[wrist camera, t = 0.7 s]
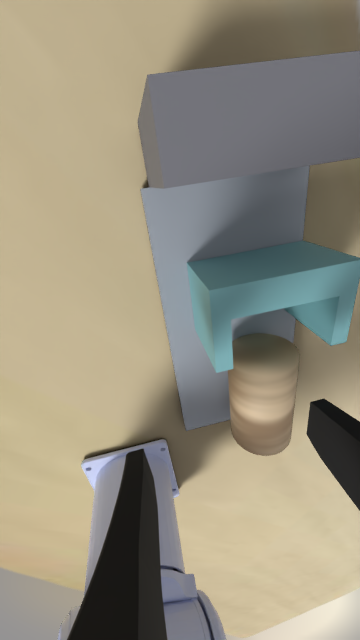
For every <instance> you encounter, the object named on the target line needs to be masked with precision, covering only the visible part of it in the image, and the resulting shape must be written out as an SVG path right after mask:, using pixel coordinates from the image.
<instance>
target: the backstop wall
mask: <svg viewBox="0 0 360 640" xmlns="http://www.w3.org/2000/svg"><path fill="white" fill-rule="evenodd" d="M138 127H139V133H140V139H141V144H142V150H143V156H144V162H145V168H146V173H147V179H148V185H149V187H150V188H162V189H166V188H172V187H178V186H184V185H191V184H197V183H203V182H209V181H216V180H222V179H228V178H235V177H241V176H247V175H253V174H260V173H266V172H272V171H278V170H285V169H291V168H297V167H303V166H310V165H316V164H322V163H329V162H335V161H341V160H347V159H354V158H360V51H352V52H343V53H335V54H326V55H317V56H308V57H299V58H291V59H282V60H273V61H264V62H255V63H246V64H238V65H229V66H220V67H211V68H202V69H194V70H185V71H176V72H167V73H158V74H150V75H147V79H146V84H145V89H144V94H143V99H142V103H141V108H140V113H139V118H138Z"/></svg>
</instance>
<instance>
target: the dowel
mask: <svg viewBox="0 0 360 640" xmlns="http://www.w3.org/2000/svg"><path fill="white" fill-rule="evenodd" d="M232 350H233V369H231V370H228V383H229V400H230V417H231V431H232V435H233V437H234V439H235V440H236V442H237V443H238V444H239V445H240V446H241V447H242V448H244V449H245V450H247V451H249V452H251V453H253V454H257V455H262V456H269V455H275V454H278V453H280V452H282V451H283V450H284V449H285V448H286V447H287V446H288V444H289V442H290V439H291V432H292V423H293V414H294V405H295V396H296V387H297V378H298V369H299V360H300V354H299V351H298V349H297V347H296V346H295V345H294V344H293V343H291V342H290V341H288V340H287V339H285V338H282V337H280V336H277V335H272V334H265V333H255V334H248V335H244V336H241V337H239V338H237V339H235V340H234V341H232Z"/></svg>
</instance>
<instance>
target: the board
mask: <svg viewBox="0 0 360 640" xmlns="http://www.w3.org/2000/svg"><path fill="white" fill-rule="evenodd" d="M309 167H310V166H303V167H297V168H291V169H285V170H278V171H272V172H266V173H260V174H253V175H247V176H241V177H235V178H228V179H222V180H216V181H209V182H203V183H197V184H191V185H184V186H178V187H172V188H166V189H162V188H150V187H149V188H142V189H140V190H141V195H142V201H143V206H144V211H145V217H146V222H147V227H148V233H149V238H150V243H151V249H152V254H153V259H154V265H155V270H156V275H157V281H158V286H159V291H160V296H161V302H162V307H163V312H164V318H165V323H166V328H167V334H168V339H169V344H170V350H171V355H172V360H173V366H174V371H175V376H176V382H177V387H178V392H179V397H180V403H181V408H182V413H183V419H184V424H185V428H186V431H188V430H192V429H196V428H200V427H203V426H207V425H211V424H215V423H219V422H223V421H227V420H231V417H230V400H229V383H228V370H227V371H222V372H218V373H216V371H215V369H214V367H213V365H212V363H211V361H210V359H209V357H208V355H207V353H206V351H205V349H204V347H203V345H202V343H201V341H200V338H199V336H198V334H197V332H196V330H195V325H194V317H193V309H192V301H191V293H190V285H189V277H188V269H187V263H188V262H193V261H198V260H203V259H209V258H214V257H219V256H224V255H230V254H235V253H240V252H245V251H251V250H256V249H261V248H266V247H272V246H277V245H282V244H287V243H293V242H298V241H303V232H304V222H305V211H306V200H307V189H308V178H309ZM295 319H296V318H294V317H293V316H292V315H291V314H289V313H288V312H287V311H285V308H282V309H278V310H273V311H269V312H264V313H259V314H255V315H250V316H246V317H241V318H236V319H232V320H231V328H232V341H234V340H235V339H237V338H239V337H241V336H244V335H248V334H255V333H265V334H272V335H277V336H280V337H282V338H285V339H287V340H288V341H290V342H291V343H293V341H294V330H295Z"/></svg>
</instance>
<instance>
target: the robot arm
mask: <svg viewBox="0 0 360 640" xmlns="http://www.w3.org/2000/svg"><path fill="white" fill-rule="evenodd" d="M307 436H308V437H309V439H310V441H311V443H312V444H313V446H314V448H315V449H316V451H317V453H318V454H319V456H320V458H321V459H322V460H323V462H324V463H325V465H326V466H327V467H328V469H329V470H330V471H331V473H332V474H333V475H334V477H335V478H336V480H337V481H338V482H339V484H340V485H341V486H342V488H343V489H344V490H345V492H346V493H347V494H348V496H349V497H350V498H351V500H352V501H353V502H354V504H355V505H356V506H357V508H358V509H359V510H360V422H359V421H358V420H356V419H355V418H353V417H352V416H350V415H348V414H347V413H345V412H344V411H342V410H341V409H339V408H338V407H336V406H335V405H333V404H332V403H330V402H328V401H327V400H325V399H320V400H317V401H313V402H310V411H309V419H308V427H307ZM81 467H82V469H83V471H84V472H85V474H86V476H87V478H88V480H89V482H90V484H91V485H92V487H93V489H94V501H93V511H92V521H91V531H90V541H89V551H88V562H87V572H86V582H85V592H84V598H83V601H82V604H81V606H79V607H73V608H72V609H71V610H70V613H69V615H68V616H67V617H66V618H65V619H64V621H63V622H62V623H61V627H60V630H59V635H58V640H226V637H225V633H224V630H223V626H222V623H221V621H220V618H219V616H218V613H217V611H216V609H215V608H214V606H213V605H212V603H211V601H210V600H209V598H208V597H207V595H206V594H205V593H204V592H203V591H201V590H197V589H196V584H195V578H194V574H185V570H184V563H183V557H182V550H181V544H180V538H179V531H178V525H177V518H176V512H175V505H174V499H173V498H175V497H177V496H178V495H179V489H178V485H177V481H176V477H175V473H174V469H173V465H172V461H171V457H170V453H169V449H168V445H167V442H166V440H163V439H162V440H157V441H153V442H149V443H146V444H142V445H138V446H134V447H130V448H126V449H122V450H119V451H115V452H111V453H107V454H103V455H99V456H95V457H92V458H88V459H85V460H83V461H82V464H81Z"/></svg>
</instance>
